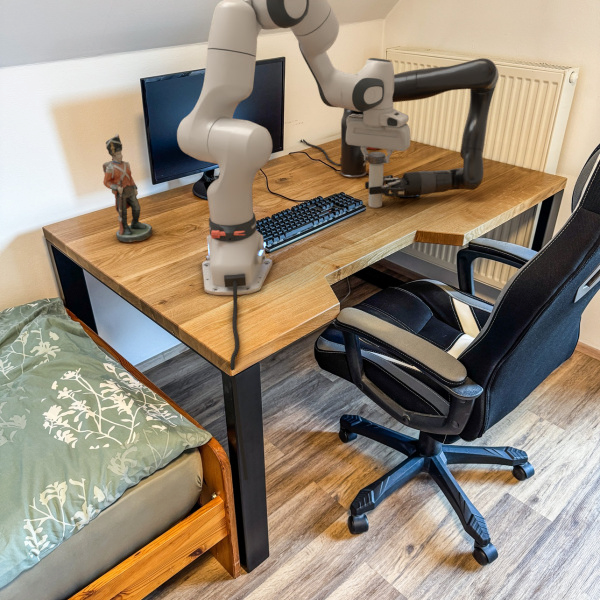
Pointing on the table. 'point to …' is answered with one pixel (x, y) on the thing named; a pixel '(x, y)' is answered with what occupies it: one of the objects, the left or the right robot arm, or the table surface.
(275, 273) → the table surface
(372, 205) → the white cylinder
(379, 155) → the lid
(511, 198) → the table surface
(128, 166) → the figurine
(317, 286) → the table surface
